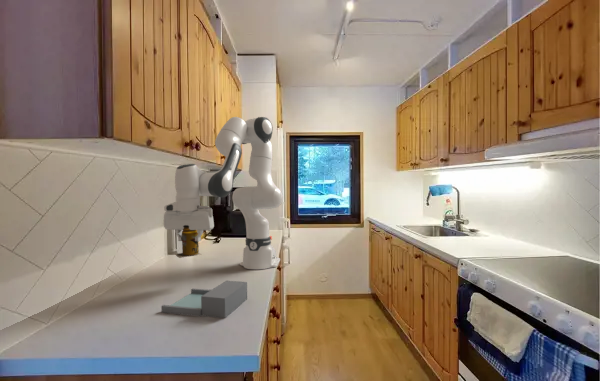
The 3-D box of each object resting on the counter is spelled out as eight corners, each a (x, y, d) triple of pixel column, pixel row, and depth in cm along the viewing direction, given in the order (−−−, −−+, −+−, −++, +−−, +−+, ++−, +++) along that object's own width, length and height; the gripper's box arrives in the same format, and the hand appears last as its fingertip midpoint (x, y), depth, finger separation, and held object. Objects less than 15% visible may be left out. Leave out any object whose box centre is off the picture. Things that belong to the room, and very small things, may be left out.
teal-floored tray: (192, 293, 116) (192, 277, 116) (247, 298, 110) (247, 281, 110) (161, 312, 99) (161, 293, 99) (224, 318, 94) (223, 299, 94)
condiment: (202, 254, 122) (200, 224, 121) (179, 258, 117) (178, 226, 117) (196, 251, 128) (195, 222, 127) (174, 254, 123) (173, 224, 123)
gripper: (216, 205, 122) (217, 240, 123) (171, 205, 127) (172, 238, 128) (207, 206, 116) (209, 243, 117) (160, 206, 121) (161, 242, 122)
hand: (189, 241), depth 122 cm, fingers closed on condiment, 6 cm apart
